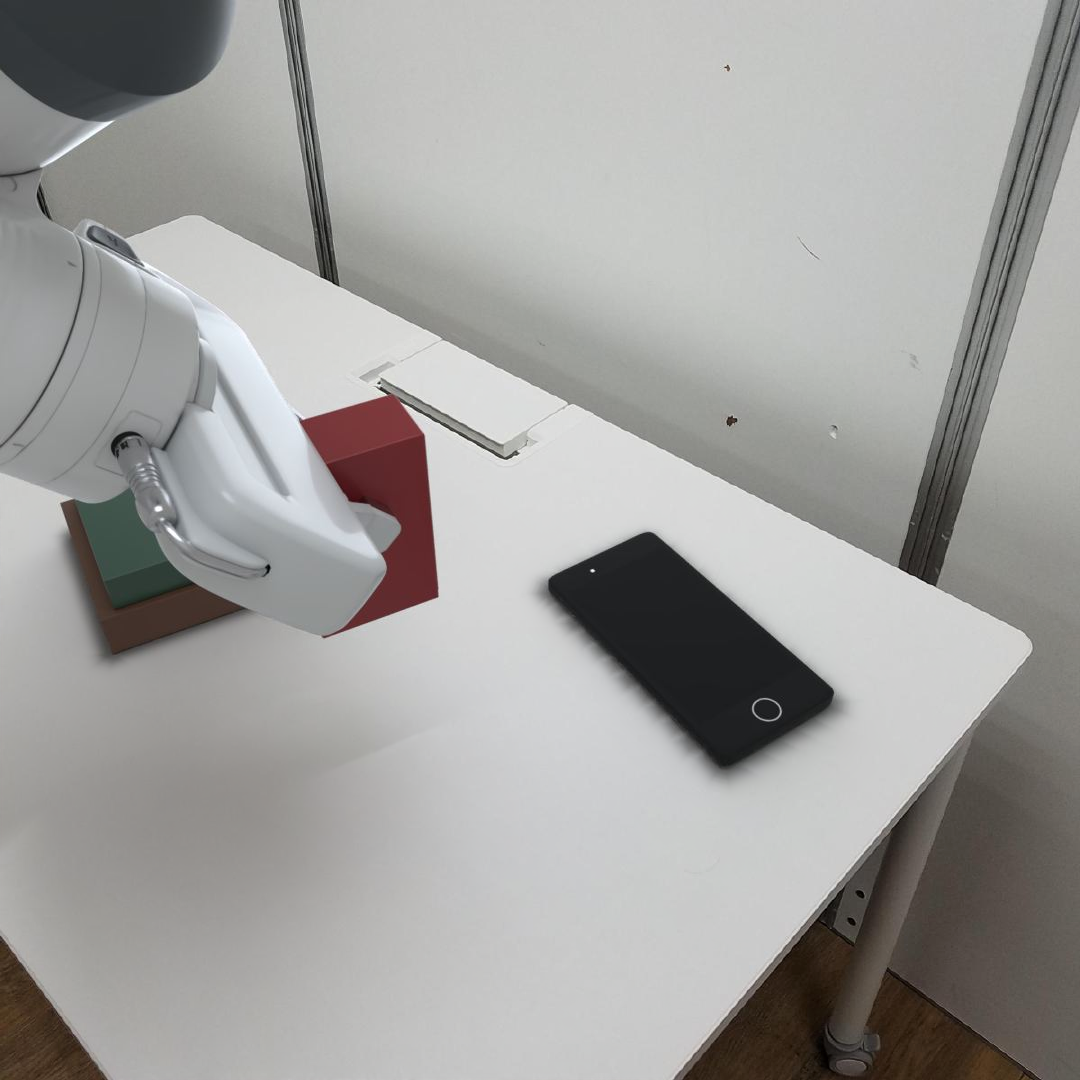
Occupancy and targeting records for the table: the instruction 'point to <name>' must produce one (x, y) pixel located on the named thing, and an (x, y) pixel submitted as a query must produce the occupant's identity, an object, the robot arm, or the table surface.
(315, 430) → the upright red rectangular block
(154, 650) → the table surface
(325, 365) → the table surface
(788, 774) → the table surface
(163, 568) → the book pile
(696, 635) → the cell phone
